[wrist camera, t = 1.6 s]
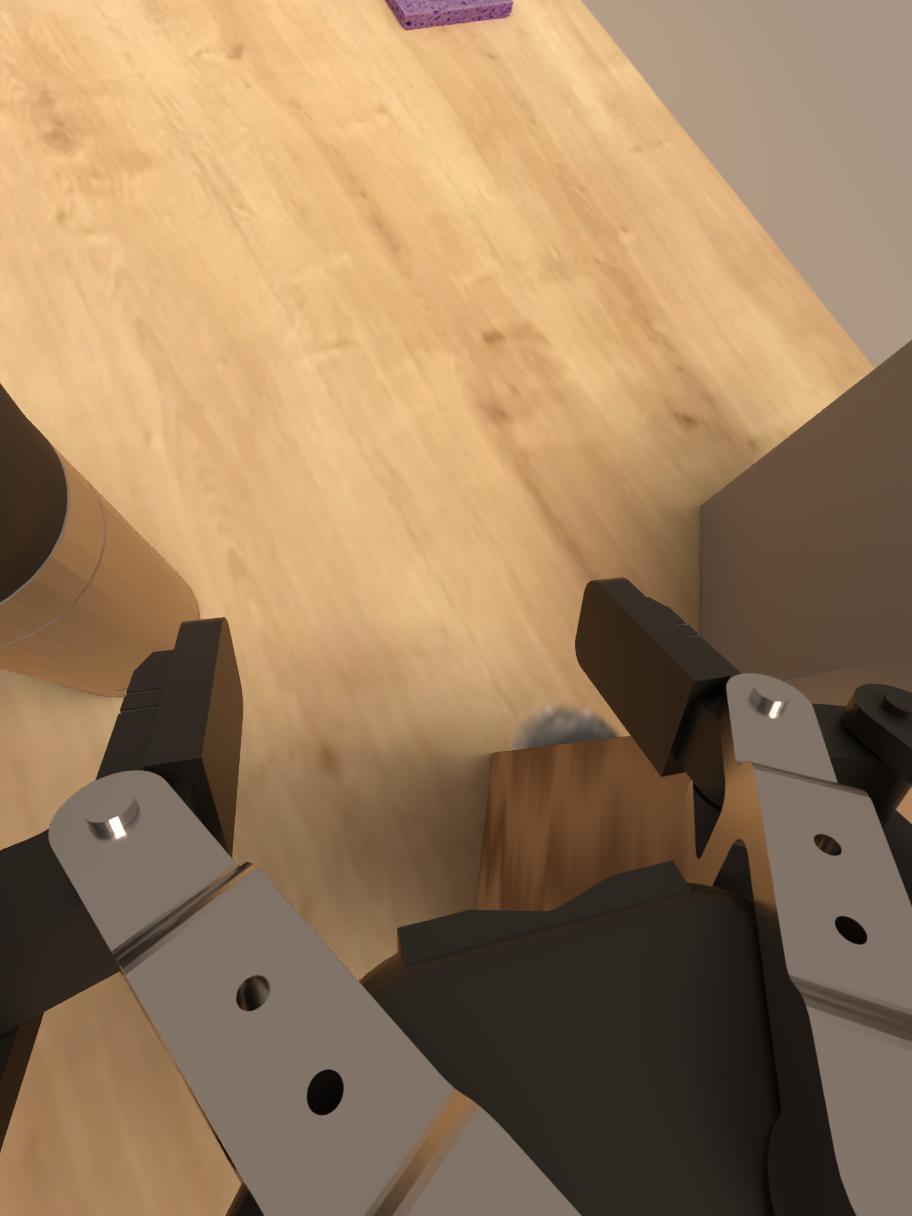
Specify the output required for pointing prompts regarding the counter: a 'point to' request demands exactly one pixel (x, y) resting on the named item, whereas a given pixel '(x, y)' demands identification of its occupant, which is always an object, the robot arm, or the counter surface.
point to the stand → (820, 548)
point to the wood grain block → (579, 821)
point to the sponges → (447, 11)
